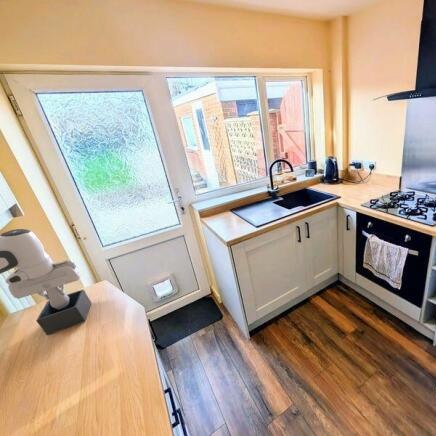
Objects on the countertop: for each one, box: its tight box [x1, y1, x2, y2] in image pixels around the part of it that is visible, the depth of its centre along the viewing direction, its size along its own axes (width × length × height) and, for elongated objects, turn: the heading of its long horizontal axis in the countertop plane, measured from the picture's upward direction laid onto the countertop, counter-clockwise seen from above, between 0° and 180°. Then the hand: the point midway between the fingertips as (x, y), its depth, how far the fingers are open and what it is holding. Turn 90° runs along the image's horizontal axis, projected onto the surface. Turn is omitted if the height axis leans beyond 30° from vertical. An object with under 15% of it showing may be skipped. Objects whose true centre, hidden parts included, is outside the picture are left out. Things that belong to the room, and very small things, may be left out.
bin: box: [36, 289, 92, 336], centre depth 103 cm, size 13×13×8 cm
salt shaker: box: [43, 283, 69, 309], centre depth 99 cm, size 6×6×13 cm
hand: (56, 296), depth 99 cm, fingers closed on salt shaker, 3 cm apart
